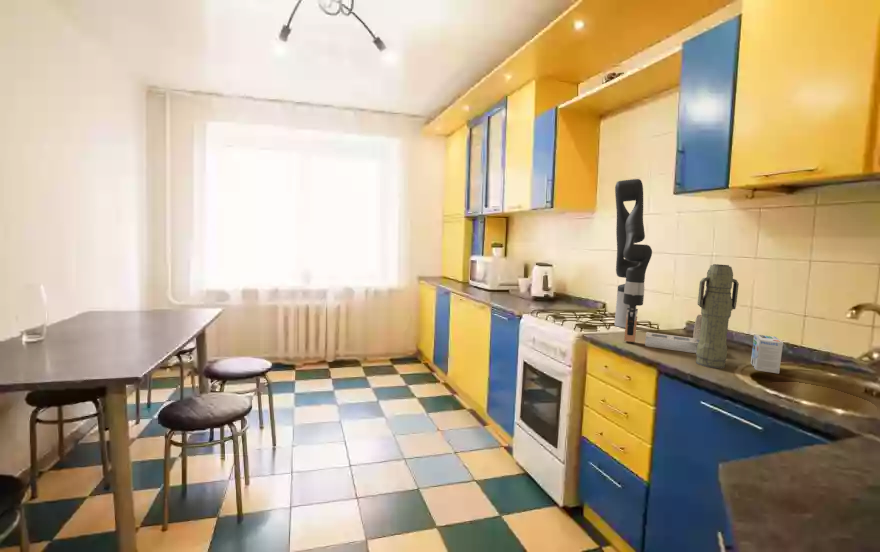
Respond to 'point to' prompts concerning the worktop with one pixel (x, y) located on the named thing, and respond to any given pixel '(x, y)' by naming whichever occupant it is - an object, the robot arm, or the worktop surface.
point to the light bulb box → (766, 353)
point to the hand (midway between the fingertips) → (630, 333)
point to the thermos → (715, 315)
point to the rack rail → (671, 342)
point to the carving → (697, 327)
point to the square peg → (632, 337)
